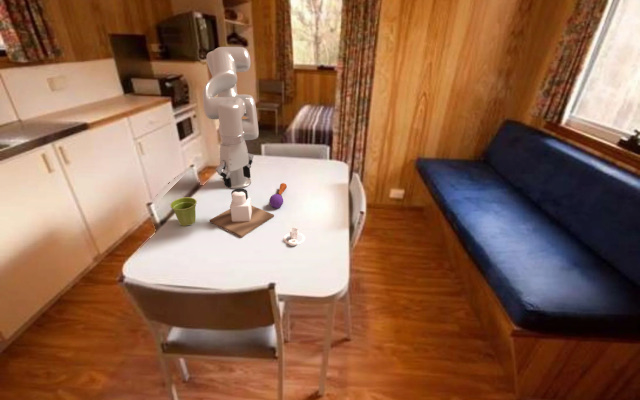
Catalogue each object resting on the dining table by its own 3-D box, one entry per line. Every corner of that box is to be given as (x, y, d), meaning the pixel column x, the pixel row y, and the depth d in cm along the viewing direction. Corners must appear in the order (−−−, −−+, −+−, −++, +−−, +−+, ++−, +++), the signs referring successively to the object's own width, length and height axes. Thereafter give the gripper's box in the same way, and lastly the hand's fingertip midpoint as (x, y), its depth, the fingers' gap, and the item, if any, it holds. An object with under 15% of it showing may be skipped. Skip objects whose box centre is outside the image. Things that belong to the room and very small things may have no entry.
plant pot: (205, 218, 125) (201, 199, 121) (189, 230, 117) (185, 211, 113) (186, 214, 127) (182, 195, 123) (169, 225, 120) (164, 206, 115)
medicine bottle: (234, 212, 127) (231, 186, 121) (252, 212, 128) (249, 186, 122) (231, 222, 121) (228, 195, 115) (250, 221, 122) (247, 194, 116)
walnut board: (209, 222, 123) (209, 219, 122) (243, 203, 136) (242, 201, 135) (241, 237, 114) (241, 235, 113) (274, 216, 127) (273, 214, 127)
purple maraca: (290, 182, 147) (282, 199, 129) (288, 193, 150) (280, 211, 132) (278, 179, 147) (269, 196, 129) (276, 190, 150) (267, 208, 132)
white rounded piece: (295, 249, 109) (295, 240, 107) (277, 242, 113) (277, 233, 111) (309, 237, 116) (309, 228, 114) (292, 230, 119) (292, 222, 117)
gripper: (243, 130, 116) (247, 171, 125) (205, 143, 104) (213, 187, 113) (257, 134, 113) (261, 176, 122) (220, 148, 100) (227, 193, 109)
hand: (237, 181), depth 117 cm, fingers open, 9 cm apart
